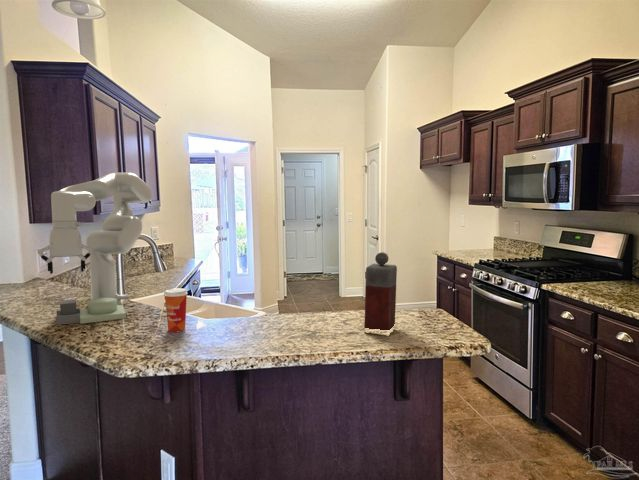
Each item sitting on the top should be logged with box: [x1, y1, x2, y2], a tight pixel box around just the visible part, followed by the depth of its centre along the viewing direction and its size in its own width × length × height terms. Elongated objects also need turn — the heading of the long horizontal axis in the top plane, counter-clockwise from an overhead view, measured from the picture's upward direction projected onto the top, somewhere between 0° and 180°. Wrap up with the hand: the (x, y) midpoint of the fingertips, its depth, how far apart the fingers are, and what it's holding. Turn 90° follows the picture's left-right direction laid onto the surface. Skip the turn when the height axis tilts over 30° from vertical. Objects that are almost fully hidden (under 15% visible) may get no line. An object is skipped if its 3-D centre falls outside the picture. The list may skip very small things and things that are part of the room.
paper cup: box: [163, 287, 189, 333], centre depth 143 cm, size 8×8×14 cm
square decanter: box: [364, 251, 398, 330], centre depth 146 cm, size 9×11×28 cm
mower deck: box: [55, 298, 127, 326], centre depth 157 cm, size 22×14×6 cm, turn 120°
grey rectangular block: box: [59, 298, 78, 315], centre depth 153 cm, size 5×6×7 cm
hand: (67, 272), depth 152 cm, fingers open, 9 cm apart
